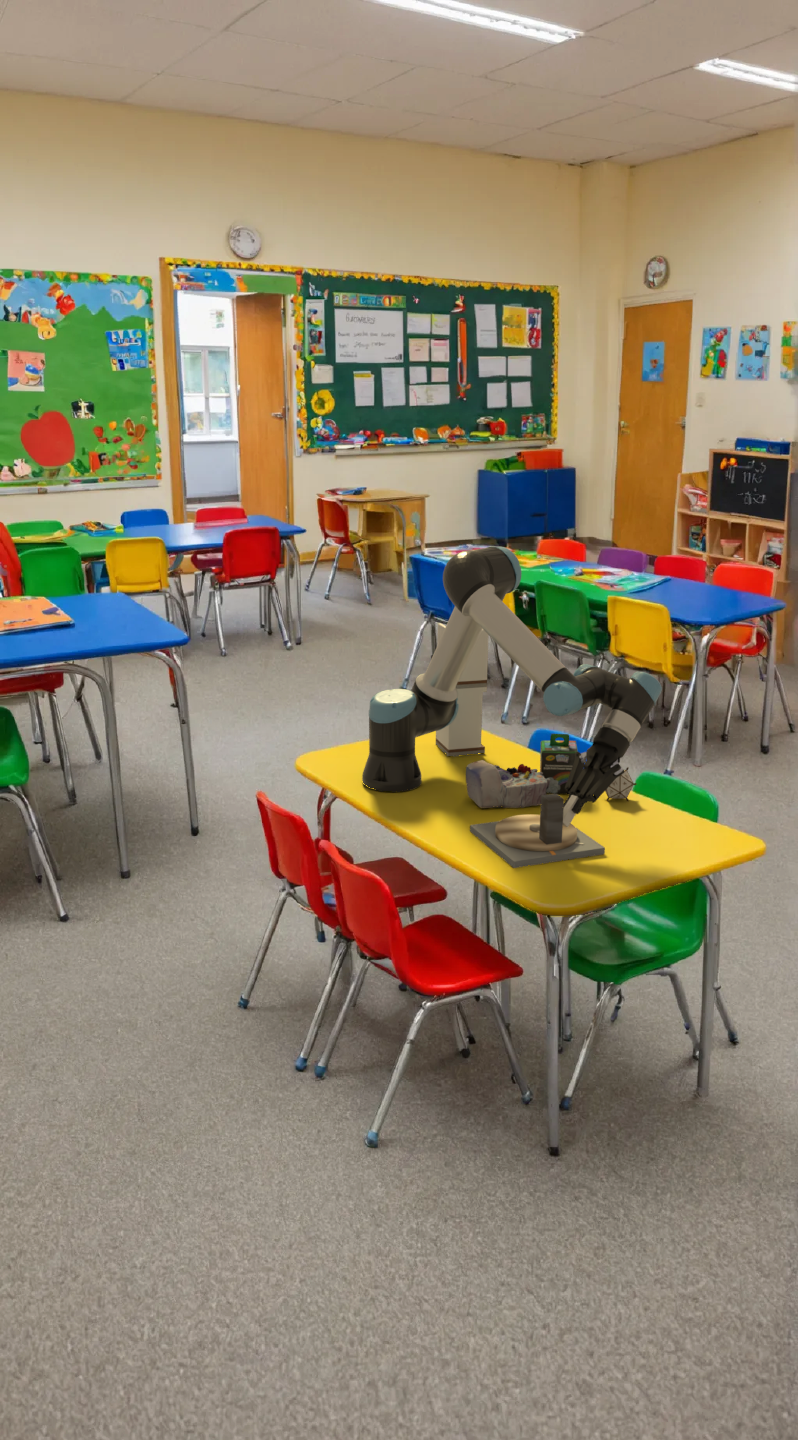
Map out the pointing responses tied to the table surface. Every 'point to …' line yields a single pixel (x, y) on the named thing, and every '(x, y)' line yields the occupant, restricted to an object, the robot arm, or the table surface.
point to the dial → (538, 828)
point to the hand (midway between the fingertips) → (562, 823)
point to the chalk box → (557, 761)
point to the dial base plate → (525, 857)
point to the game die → (620, 787)
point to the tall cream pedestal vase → (467, 703)
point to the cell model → (504, 785)
